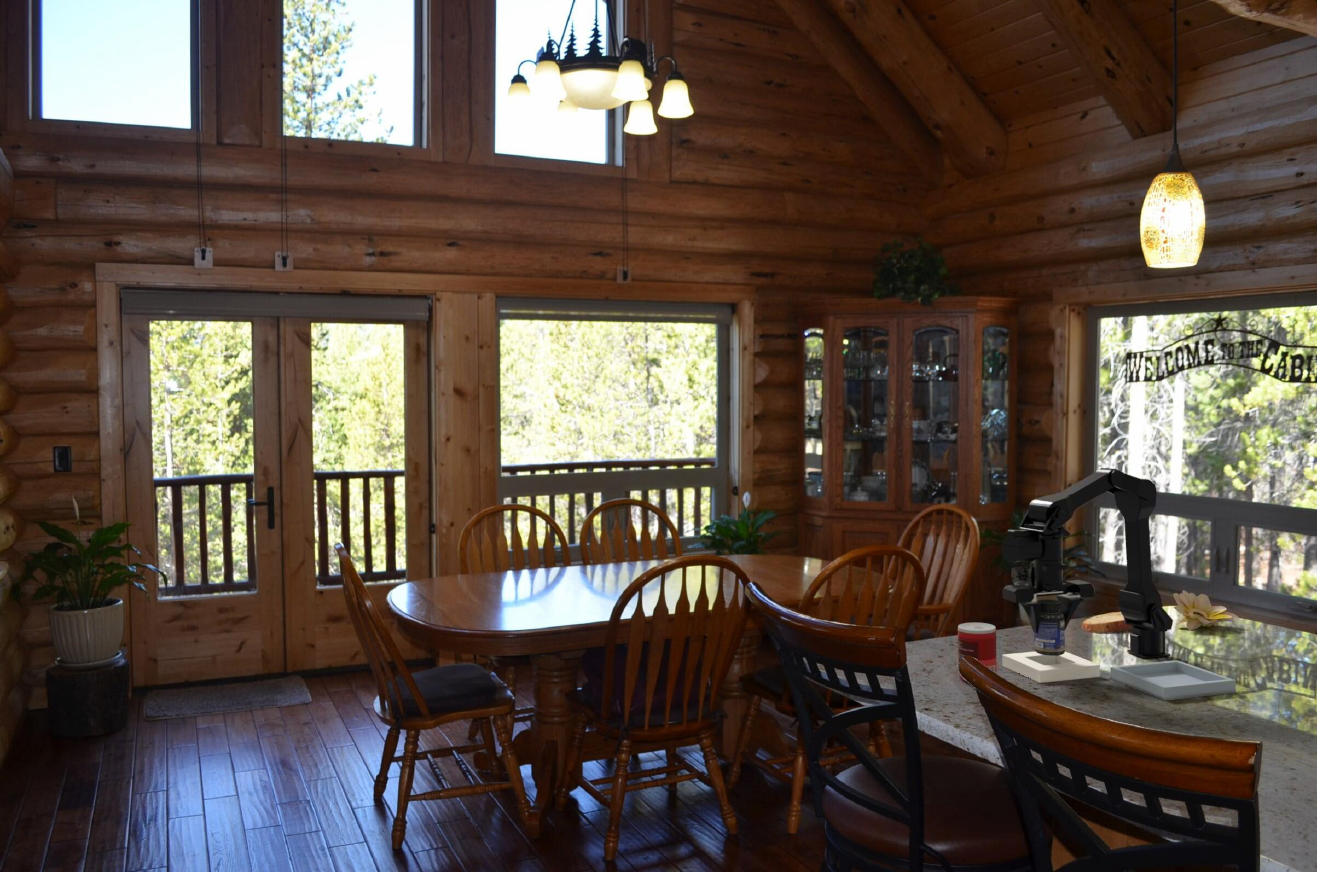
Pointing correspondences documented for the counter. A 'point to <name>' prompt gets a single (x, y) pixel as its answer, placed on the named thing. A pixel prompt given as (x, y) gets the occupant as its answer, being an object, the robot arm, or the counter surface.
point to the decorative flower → (1200, 611)
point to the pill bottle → (1050, 629)
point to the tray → (1172, 680)
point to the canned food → (978, 643)
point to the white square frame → (1050, 666)
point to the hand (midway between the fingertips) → (1049, 631)
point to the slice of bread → (1106, 623)
